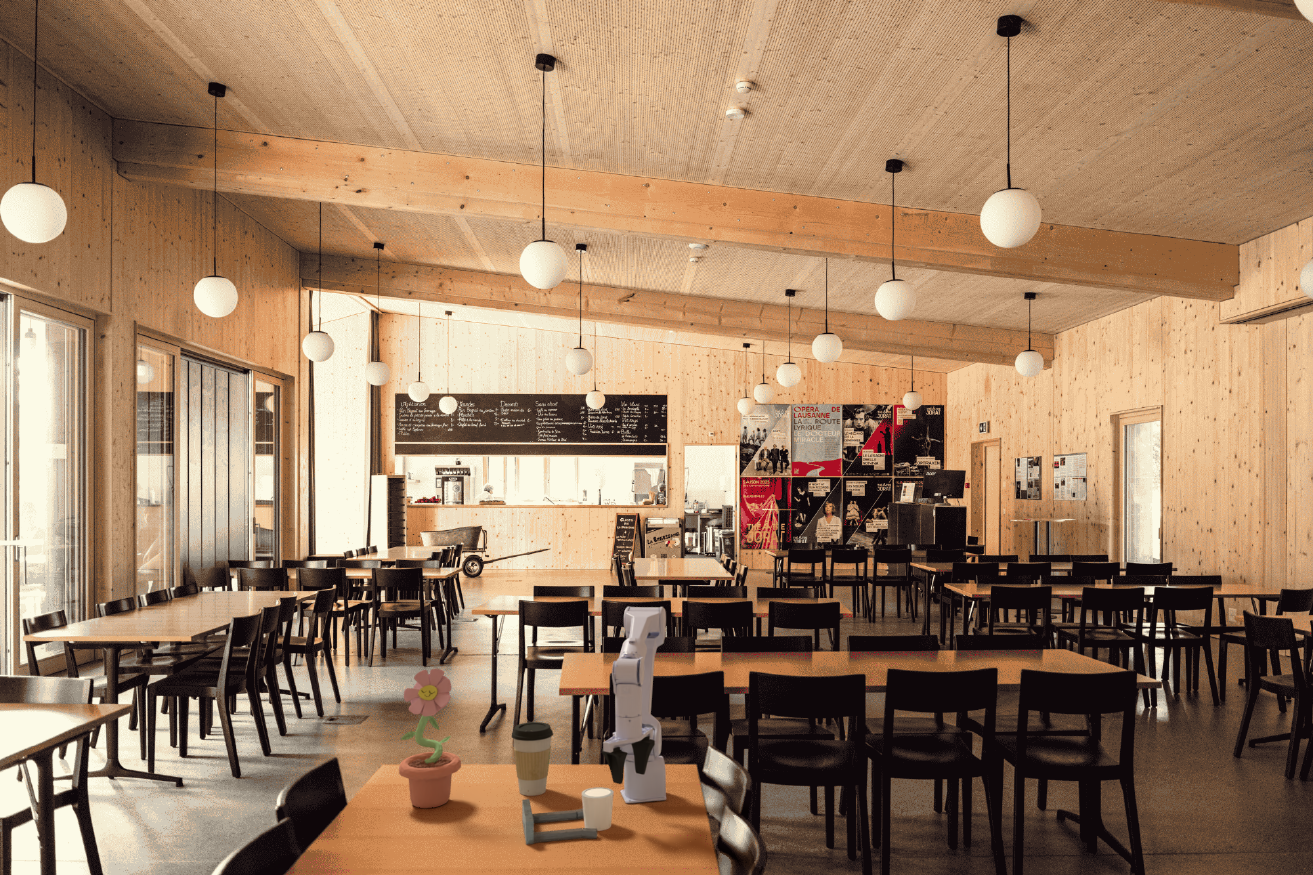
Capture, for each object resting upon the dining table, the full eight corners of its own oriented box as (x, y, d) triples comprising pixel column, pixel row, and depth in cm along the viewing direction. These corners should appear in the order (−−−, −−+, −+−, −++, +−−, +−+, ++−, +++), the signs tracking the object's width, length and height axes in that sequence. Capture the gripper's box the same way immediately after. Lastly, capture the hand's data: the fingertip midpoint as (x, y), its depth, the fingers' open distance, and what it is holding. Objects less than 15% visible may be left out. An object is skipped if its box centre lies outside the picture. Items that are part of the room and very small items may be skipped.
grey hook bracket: (589, 814, 193) (589, 793, 194) (598, 838, 180) (598, 816, 180) (522, 820, 190) (522, 798, 191) (526, 845, 177) (526, 822, 177)
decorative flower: (383, 812, 196) (384, 675, 198) (410, 791, 210) (410, 663, 211) (446, 815, 194) (447, 677, 196) (469, 793, 207) (470, 664, 209)
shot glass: (601, 834, 182) (601, 799, 182) (575, 827, 186) (574, 794, 186) (620, 823, 188) (620, 789, 188) (594, 817, 192) (594, 784, 192)
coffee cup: (557, 784, 213) (557, 721, 214) (548, 798, 203) (548, 732, 204) (517, 783, 214) (517, 721, 215) (506, 797, 204) (506, 732, 205)
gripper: (635, 705, 200) (636, 766, 199) (592, 718, 188) (592, 783, 188) (660, 709, 195) (660, 772, 195) (617, 723, 184) (618, 790, 183)
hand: (629, 778), depth 191 cm, fingers open, 7 cm apart
